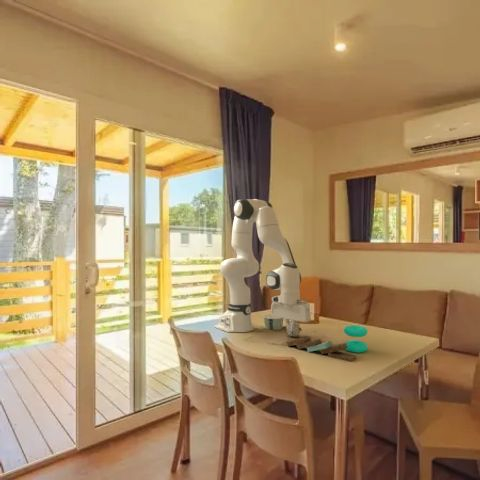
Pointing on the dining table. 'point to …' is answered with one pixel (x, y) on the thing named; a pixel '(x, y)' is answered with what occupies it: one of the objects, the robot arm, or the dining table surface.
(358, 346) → the donuts
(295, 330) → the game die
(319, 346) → the domino
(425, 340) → the dining table surface
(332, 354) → the domino
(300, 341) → the domino
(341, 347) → the domino
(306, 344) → the domino
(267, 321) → the food container
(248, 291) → the robot arm
